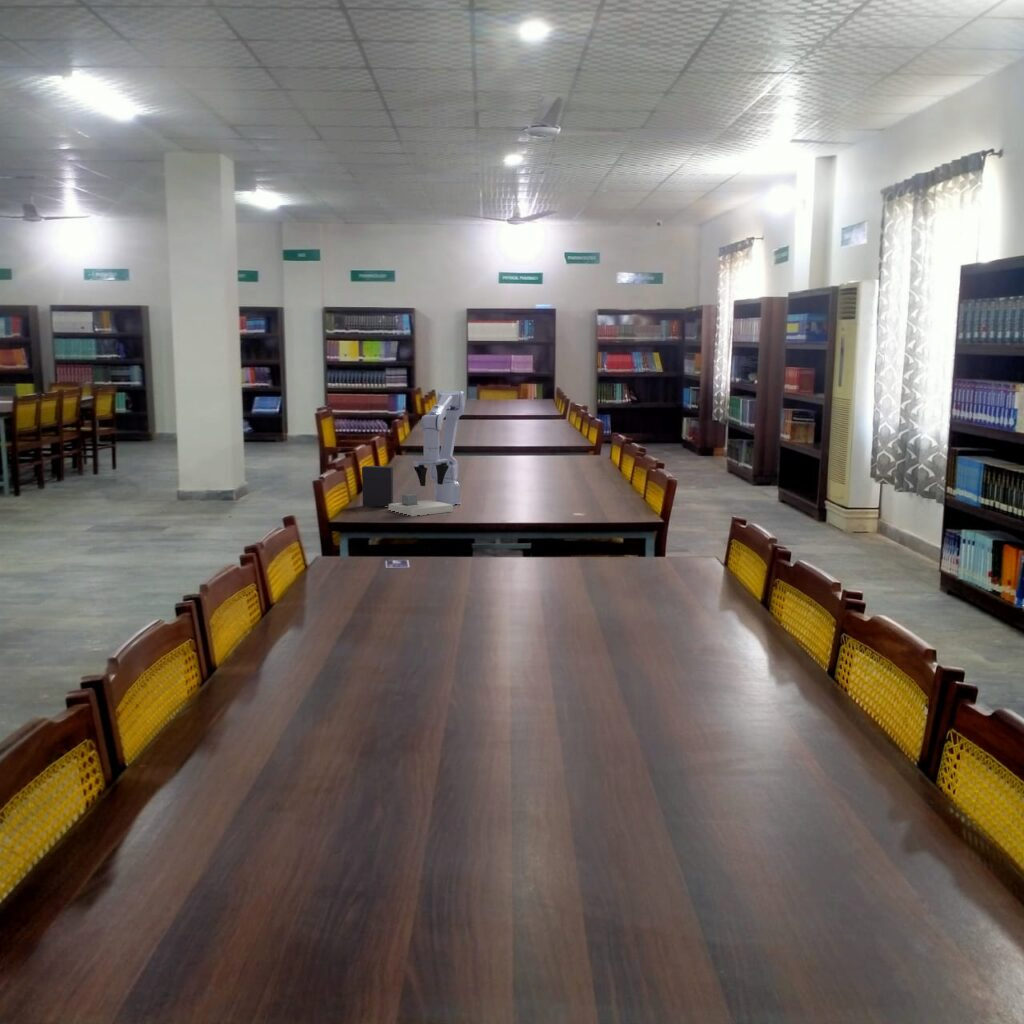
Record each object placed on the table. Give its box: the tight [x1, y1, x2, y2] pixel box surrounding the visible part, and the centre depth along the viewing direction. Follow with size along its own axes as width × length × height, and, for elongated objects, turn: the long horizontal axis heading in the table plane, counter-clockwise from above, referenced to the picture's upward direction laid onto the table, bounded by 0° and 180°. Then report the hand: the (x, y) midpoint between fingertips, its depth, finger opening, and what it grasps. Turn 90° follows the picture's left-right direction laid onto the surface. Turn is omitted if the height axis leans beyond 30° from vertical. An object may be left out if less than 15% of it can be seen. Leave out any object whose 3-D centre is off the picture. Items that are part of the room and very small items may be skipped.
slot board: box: [388, 499, 454, 517], centre depth 352 cm, size 18×15×2 cm
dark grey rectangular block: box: [361, 465, 394, 508], centre depth 360 cm, size 11×4×15 cm, turn 84°
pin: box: [401, 493, 418, 506], centre depth 352 cm, size 4×4×6 cm
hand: (431, 485), depth 353 cm, fingers open, 7 cm apart
